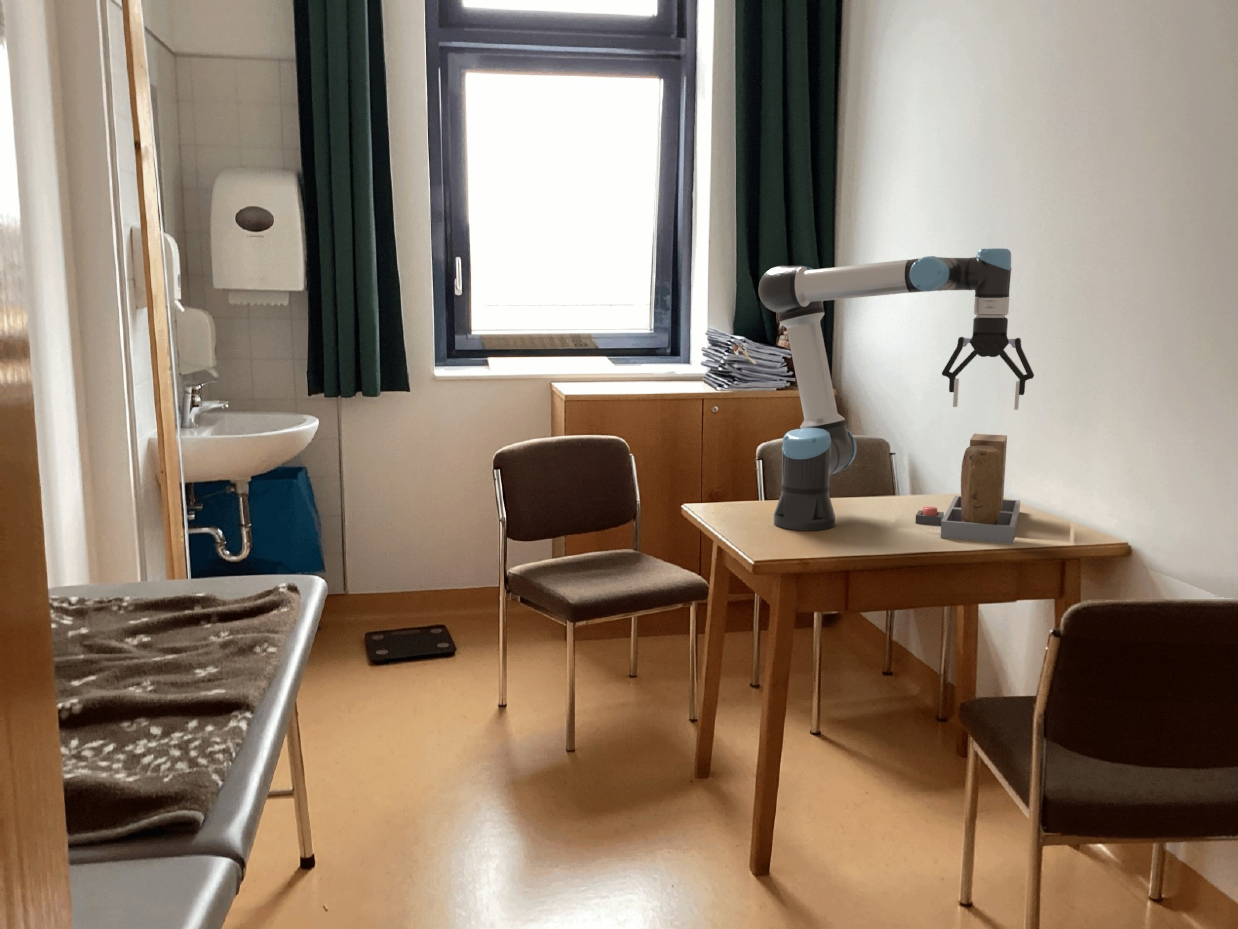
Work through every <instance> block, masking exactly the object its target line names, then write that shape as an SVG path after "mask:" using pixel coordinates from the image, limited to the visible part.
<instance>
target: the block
mask: <svg viewBox="0 0 1238 929" xmlns="http://www.w3.org/2000/svg"><path fill="white" fill-rule="evenodd" d="M1000 493H1001V452H1000V451H999V450H997V448H995V447H992V446H970V445H969V446H968V447H967V448H966V449H965V451H964V454H963V458H962V462H961V472H960V496H961V521H962V522H969V523H981V524H993V525H997V523H998V520H999V508H1000Z"/></svg>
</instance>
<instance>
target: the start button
mask: <svg viewBox="0 0 1238 929" xmlns="http://www.w3.org/2000/svg"><path fill="white" fill-rule="evenodd" d="M922 511H923V515H931V516H937V512H938V507H935V506H923V507H922Z"/></svg>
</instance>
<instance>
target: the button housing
mask: <svg viewBox="0 0 1238 929" xmlns="http://www.w3.org/2000/svg"><path fill="white" fill-rule="evenodd" d="M944 515H945V512H944V511H937V516H931V515H923V509H922V510H918V511H917V513H915V524H920V525H921V524H922V525H930V526H931V525H932V526H941V521H942V519H943V517H944Z"/></svg>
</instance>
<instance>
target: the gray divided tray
mask: <svg viewBox="0 0 1238 929" xmlns="http://www.w3.org/2000/svg"><path fill="white" fill-rule="evenodd" d="M1020 510H1021V500H1020V499H1019V500H1018V499H1004V498H1003V511H999V520H998V523H997V525H993V524H981V523H969V522H962V521H961V495H954V498H953V500H951V503H950V505H949V507H948V508H947V510H946V512H945V513H944V517H943V519H942V521H941V525H940V539H951V540H961V541H974V542H984V543H985V542H986V543H997V544H1007V545H1008V544H1009V545H1013V544H1014V540H1015V533H1016V529H1017V524H1018V520H1019V518H1020V517H1019V516H1020V512H1021V511H1020Z"/></svg>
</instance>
